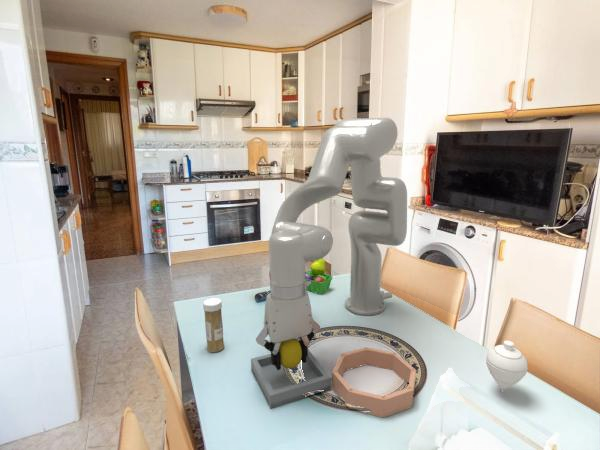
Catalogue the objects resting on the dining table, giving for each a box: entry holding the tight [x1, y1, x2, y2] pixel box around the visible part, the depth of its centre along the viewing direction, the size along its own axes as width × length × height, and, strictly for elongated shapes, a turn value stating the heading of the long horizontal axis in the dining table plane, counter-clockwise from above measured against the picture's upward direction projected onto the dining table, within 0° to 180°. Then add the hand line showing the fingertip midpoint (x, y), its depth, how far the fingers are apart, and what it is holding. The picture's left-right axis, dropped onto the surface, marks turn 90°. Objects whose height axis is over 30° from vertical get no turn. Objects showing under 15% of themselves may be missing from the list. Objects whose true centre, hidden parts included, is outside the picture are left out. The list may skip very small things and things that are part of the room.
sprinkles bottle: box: [203, 297, 225, 353], centre depth 95 cm, size 5×5×13 cm
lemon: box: [278, 338, 302, 369], centre depth 82 cm, size 6×6×8 cm
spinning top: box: [485, 340, 529, 394], centre depth 77 cm, size 8×8×12 cm
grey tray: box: [250, 349, 332, 409], centre depth 83 cm, size 14×14×3 cm
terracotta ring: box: [331, 346, 417, 418], centre depth 80 cm, size 17×17×4 cm
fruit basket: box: [305, 257, 333, 295], centre depth 132 cm, size 11×9×11 cm
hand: (289, 362), depth 82 cm, fingers closed on lemon, 5 cm apart
